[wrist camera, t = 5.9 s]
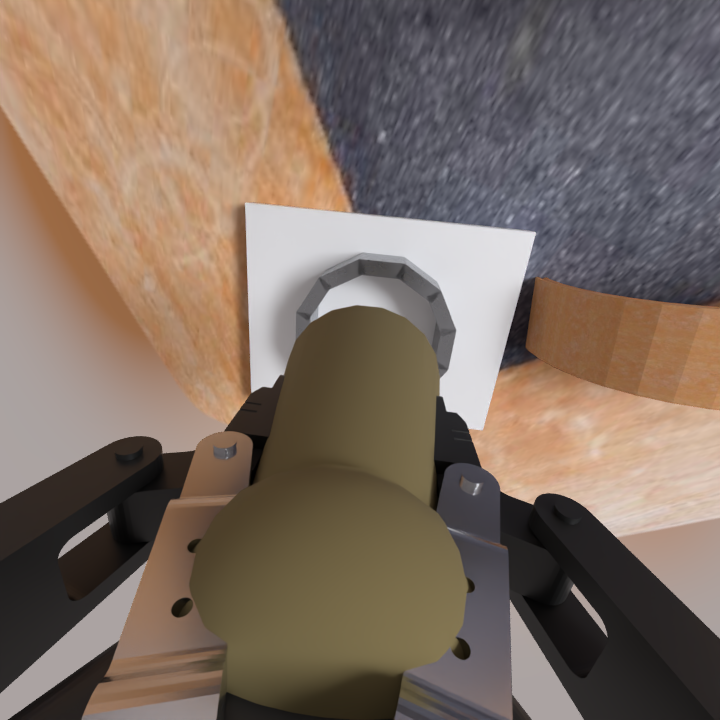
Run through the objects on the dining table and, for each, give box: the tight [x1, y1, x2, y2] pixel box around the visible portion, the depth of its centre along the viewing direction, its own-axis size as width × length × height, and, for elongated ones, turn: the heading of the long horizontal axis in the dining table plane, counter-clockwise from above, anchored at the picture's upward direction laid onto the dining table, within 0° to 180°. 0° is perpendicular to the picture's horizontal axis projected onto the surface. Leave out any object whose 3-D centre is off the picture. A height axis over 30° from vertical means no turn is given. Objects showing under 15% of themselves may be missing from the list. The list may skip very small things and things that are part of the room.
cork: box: [178, 305, 472, 720], centre depth 10 cm, size 6×6×11 cm
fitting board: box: [245, 202, 536, 430], centre depth 29 cm, size 20×16×2 cm
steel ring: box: [296, 252, 456, 378], centre depth 27 cm, size 11×11×3 cm
